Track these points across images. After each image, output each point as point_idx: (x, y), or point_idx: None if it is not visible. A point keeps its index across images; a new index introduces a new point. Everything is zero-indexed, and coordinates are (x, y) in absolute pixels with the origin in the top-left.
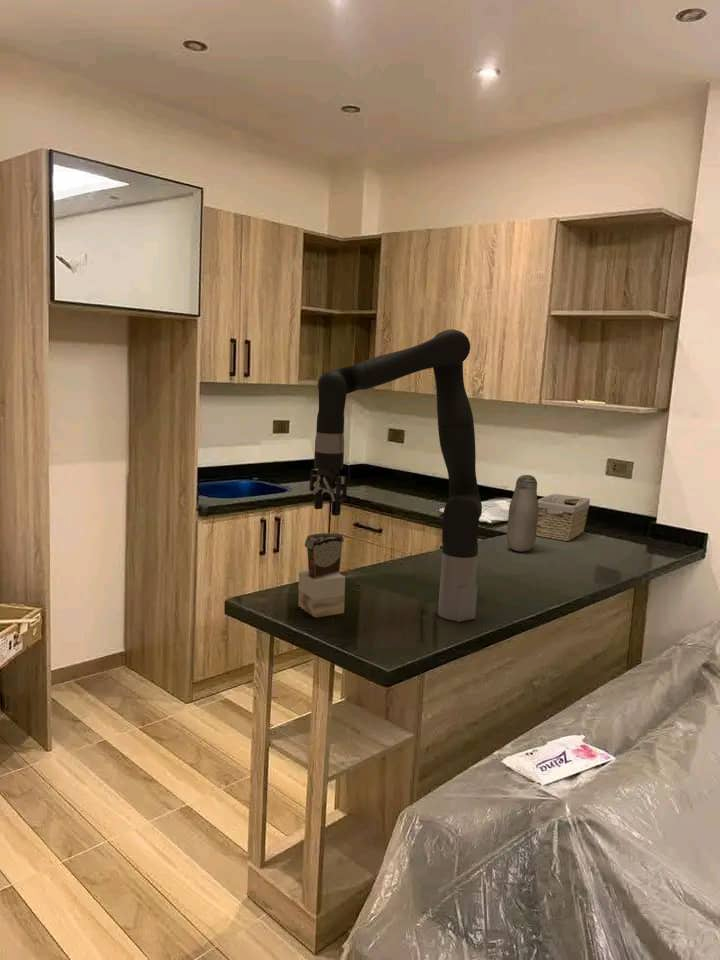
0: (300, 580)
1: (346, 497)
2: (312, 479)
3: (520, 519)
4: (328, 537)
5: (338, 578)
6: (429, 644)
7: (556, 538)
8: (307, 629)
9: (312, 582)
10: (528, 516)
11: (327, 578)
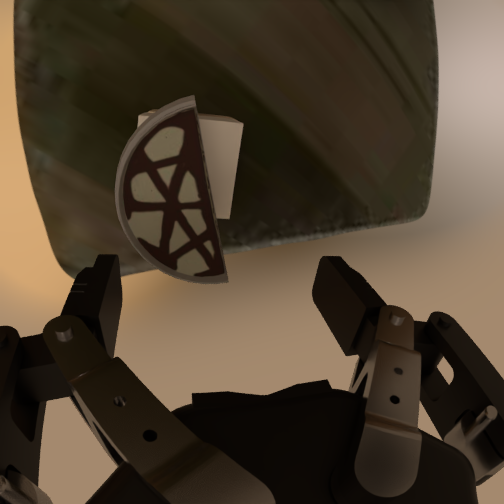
0: None
1: (455, 320)
2: (36, 478)
3: None
4: (153, 156)
5: (239, 146)
6: (420, 107)
7: None
8: (262, 231)
9: None
10: None
11: (227, 177)
